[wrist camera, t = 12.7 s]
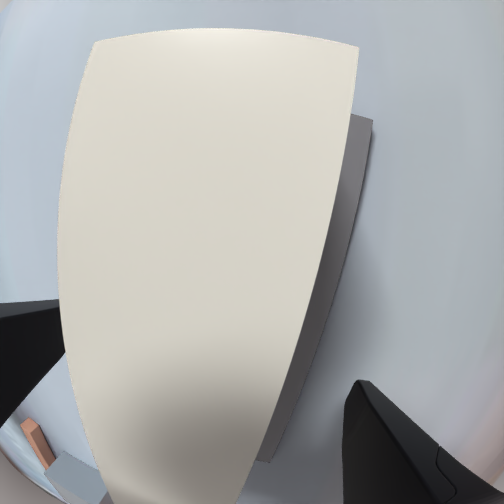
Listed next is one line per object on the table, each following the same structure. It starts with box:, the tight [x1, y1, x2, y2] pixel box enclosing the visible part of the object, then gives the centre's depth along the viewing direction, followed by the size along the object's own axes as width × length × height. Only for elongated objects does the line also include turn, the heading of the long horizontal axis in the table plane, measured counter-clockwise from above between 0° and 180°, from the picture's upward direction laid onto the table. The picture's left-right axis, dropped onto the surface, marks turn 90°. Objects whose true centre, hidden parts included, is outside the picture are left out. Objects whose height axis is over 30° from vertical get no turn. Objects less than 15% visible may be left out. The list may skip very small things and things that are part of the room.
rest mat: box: [255, 114, 373, 463], centre depth 11 cm, size 7×16×1 cm, turn 169°
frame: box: [20, 417, 56, 470], centre depth 17 cm, size 15×12×2 cm
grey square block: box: [44, 451, 114, 504], centre depth 16 cm, size 6×6×4 cm
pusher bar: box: [57, 28, 359, 504], centre depth 7 cm, size 4×14×6 cm, turn 169°
